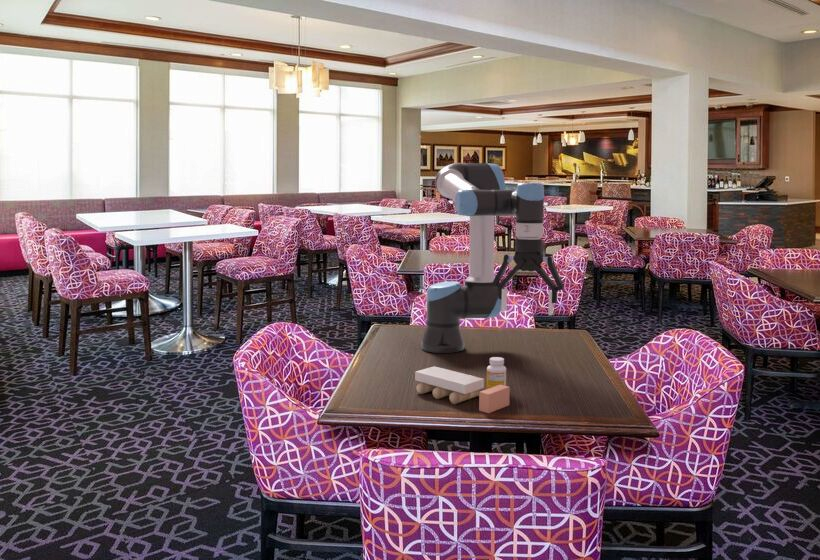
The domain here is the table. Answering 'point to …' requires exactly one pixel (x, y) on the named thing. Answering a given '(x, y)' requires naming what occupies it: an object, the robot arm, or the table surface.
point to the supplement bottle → (496, 372)
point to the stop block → (494, 398)
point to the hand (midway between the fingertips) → (526, 312)
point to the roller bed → (446, 393)
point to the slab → (449, 379)
